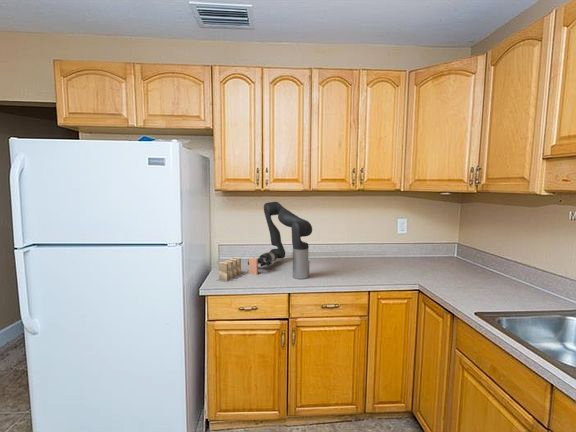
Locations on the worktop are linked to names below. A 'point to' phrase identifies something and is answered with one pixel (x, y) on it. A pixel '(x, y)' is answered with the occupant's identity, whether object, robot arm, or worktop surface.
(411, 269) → the worktop surface
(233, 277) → the mat
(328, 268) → the worktop surface
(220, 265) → the maple domino
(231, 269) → the maple domino
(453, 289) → the worktop surface
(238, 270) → the maple domino
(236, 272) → the maple domino
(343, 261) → the worktop surface
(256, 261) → the terracotta domino
